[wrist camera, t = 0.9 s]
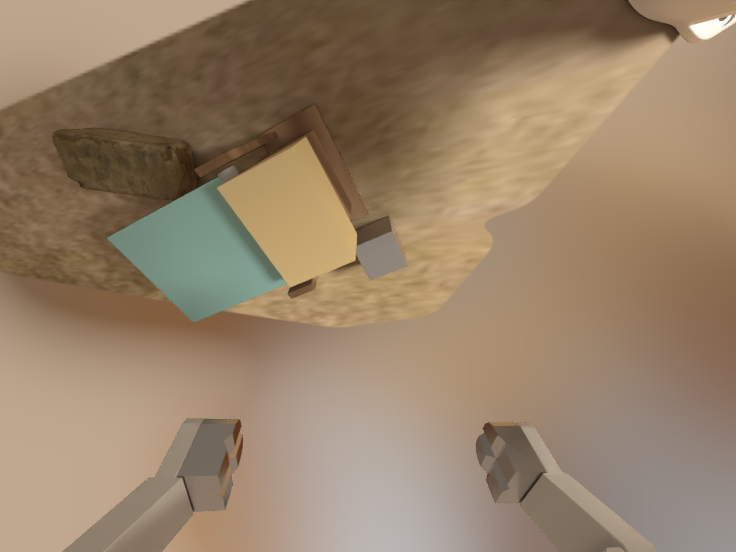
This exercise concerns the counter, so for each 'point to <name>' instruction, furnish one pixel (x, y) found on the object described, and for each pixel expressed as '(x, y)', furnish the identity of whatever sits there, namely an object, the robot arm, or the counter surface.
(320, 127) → the trapdoor frame
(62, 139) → the stone block
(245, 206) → the trapdoor
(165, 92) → the counter surface
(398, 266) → the stone cube
